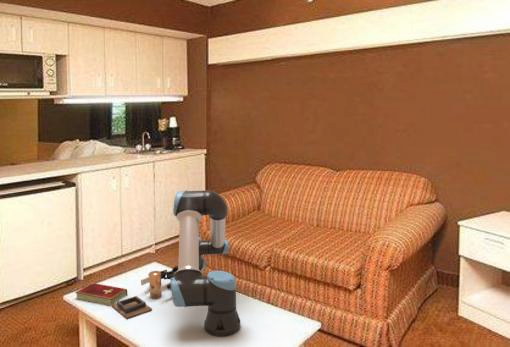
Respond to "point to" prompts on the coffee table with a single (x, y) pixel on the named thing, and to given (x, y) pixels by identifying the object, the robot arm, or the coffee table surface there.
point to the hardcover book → (101, 293)
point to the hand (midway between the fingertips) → (151, 285)
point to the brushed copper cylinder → (155, 284)
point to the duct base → (131, 307)
